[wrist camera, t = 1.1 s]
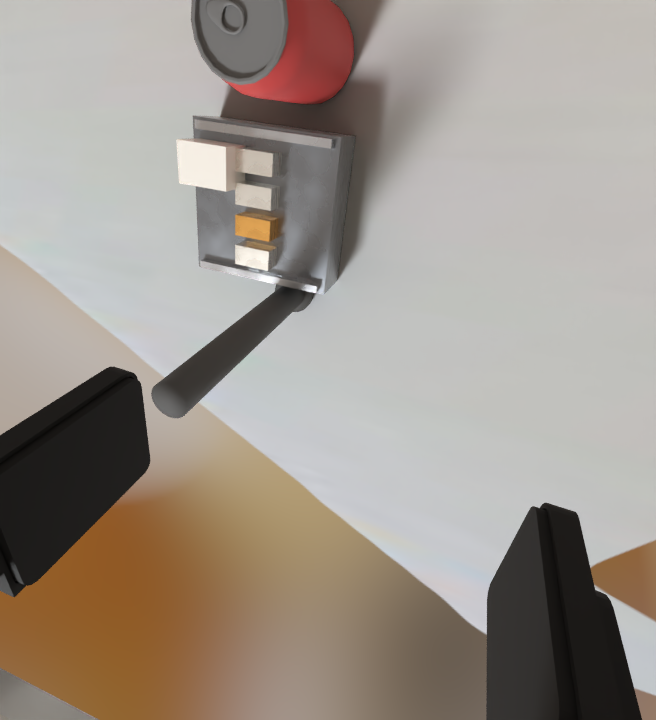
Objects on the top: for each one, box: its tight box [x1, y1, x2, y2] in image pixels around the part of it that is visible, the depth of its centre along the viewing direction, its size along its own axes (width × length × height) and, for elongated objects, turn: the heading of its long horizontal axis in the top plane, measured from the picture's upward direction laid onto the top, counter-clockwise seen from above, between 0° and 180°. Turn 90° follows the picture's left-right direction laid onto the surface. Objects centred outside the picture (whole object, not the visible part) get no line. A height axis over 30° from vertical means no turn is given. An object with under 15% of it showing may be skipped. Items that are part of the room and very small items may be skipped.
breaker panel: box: [193, 116, 355, 294], centre depth 36 cm, size 12×12×6 cm
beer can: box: [191, 0, 354, 105], centre depth 27 cm, size 7×7×12 cm
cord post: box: [151, 285, 313, 418], centre depth 34 cm, size 4×4×20 cm
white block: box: [177, 138, 246, 192], centre depth 33 cm, size 4×3×3 cm
